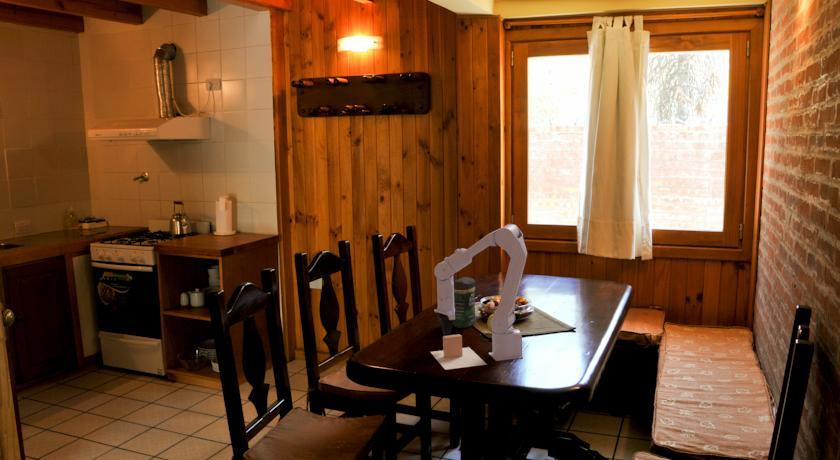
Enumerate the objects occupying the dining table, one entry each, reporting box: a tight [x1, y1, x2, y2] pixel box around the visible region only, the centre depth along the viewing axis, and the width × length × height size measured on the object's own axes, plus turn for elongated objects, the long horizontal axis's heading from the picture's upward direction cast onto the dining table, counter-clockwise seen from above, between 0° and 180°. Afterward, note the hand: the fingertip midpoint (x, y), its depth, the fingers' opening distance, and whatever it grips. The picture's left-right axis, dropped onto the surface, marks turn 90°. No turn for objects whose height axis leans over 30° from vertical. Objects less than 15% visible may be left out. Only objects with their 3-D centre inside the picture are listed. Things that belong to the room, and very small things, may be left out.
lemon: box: [486, 312, 495, 333], centre depth 247 cm, size 6×6×8 cm
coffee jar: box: [452, 276, 477, 329], centre depth 259 cm, size 10×8×19 cm
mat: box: [430, 346, 488, 371], centre depth 223 cm, size 14×18×1 cm
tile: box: [442, 334, 463, 358], centre depth 224 cm, size 6×2×7 cm, turn 104°
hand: (447, 334), depth 230 cm, fingers closed
